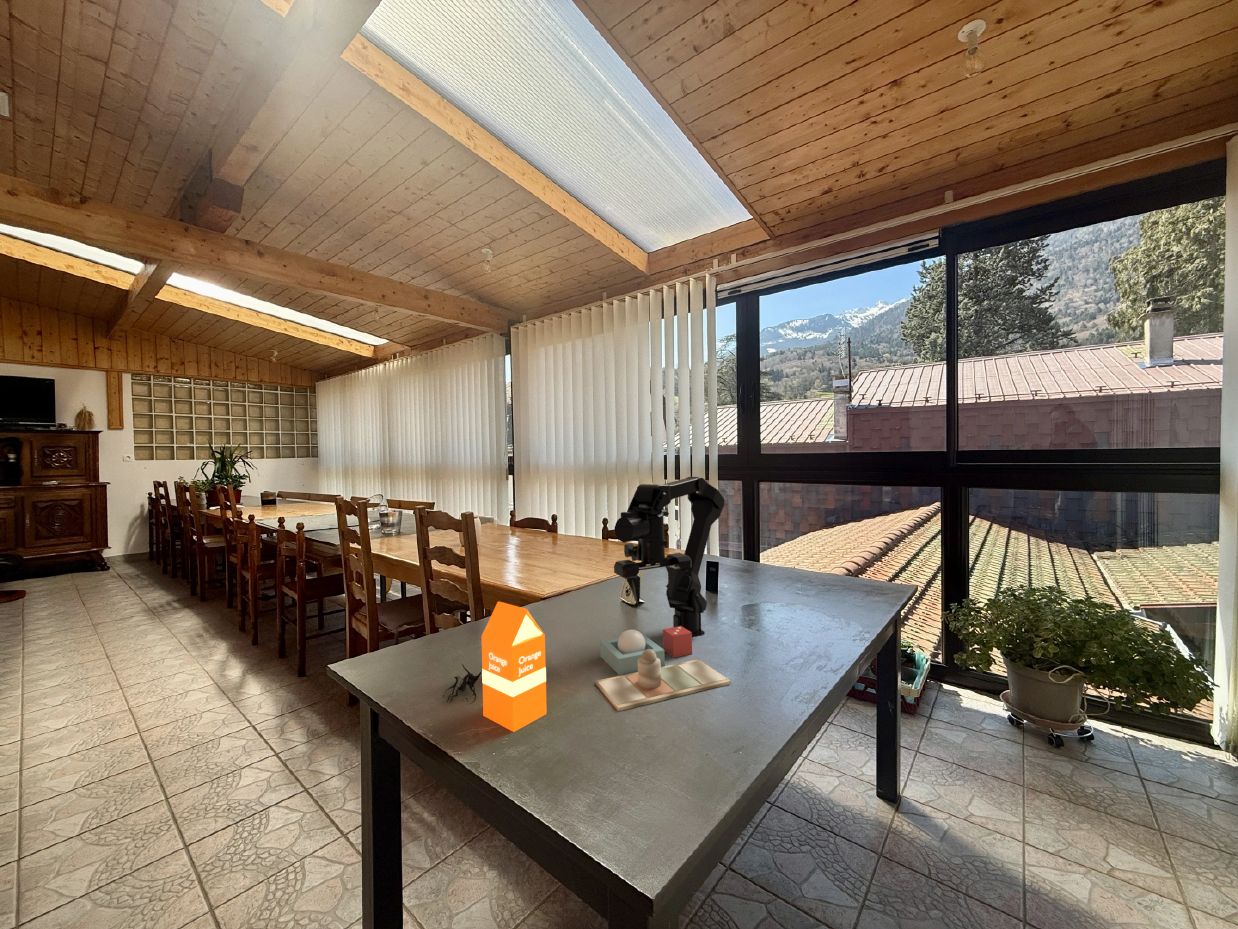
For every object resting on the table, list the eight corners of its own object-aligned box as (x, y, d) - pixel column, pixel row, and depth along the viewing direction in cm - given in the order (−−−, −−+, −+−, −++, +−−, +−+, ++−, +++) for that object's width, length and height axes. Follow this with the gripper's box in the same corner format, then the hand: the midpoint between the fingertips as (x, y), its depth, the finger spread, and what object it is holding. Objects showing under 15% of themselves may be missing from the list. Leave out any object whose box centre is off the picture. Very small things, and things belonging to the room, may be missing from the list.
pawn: (654, 676, 101) (653, 643, 101) (665, 686, 97) (664, 651, 97) (634, 681, 99) (633, 647, 99) (644, 690, 95) (643, 655, 95)
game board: (699, 661, 110) (698, 658, 110) (731, 683, 99) (731, 680, 99) (595, 683, 100) (595, 680, 100) (618, 711, 89) (618, 707, 89)
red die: (681, 646, 119) (680, 625, 119) (692, 653, 114) (691, 632, 114) (663, 649, 117) (662, 628, 117) (673, 657, 112) (673, 635, 112)
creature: (466, 715, 91) (493, 687, 98) (461, 690, 90) (488, 664, 97) (435, 706, 94) (463, 680, 101) (429, 682, 93) (458, 657, 100)
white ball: (638, 650, 115) (637, 624, 115) (650, 661, 109) (650, 632, 109) (613, 655, 112) (612, 628, 112) (624, 666, 107) (624, 637, 106)
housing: (642, 648, 118) (642, 634, 118) (664, 665, 108) (664, 650, 108) (600, 656, 114) (600, 641, 114) (619, 675, 104) (618, 659, 103)
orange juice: (516, 699, 94) (514, 596, 94) (547, 713, 89) (545, 604, 88) (482, 716, 88) (479, 606, 88) (513, 732, 82) (510, 615, 82)
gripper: (668, 528, 129) (670, 586, 129) (603, 535, 121) (606, 597, 122) (691, 533, 119) (693, 597, 119) (622, 542, 111) (625, 609, 111)
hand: (654, 599), depth 118 cm, fingers open, 9 cm apart
